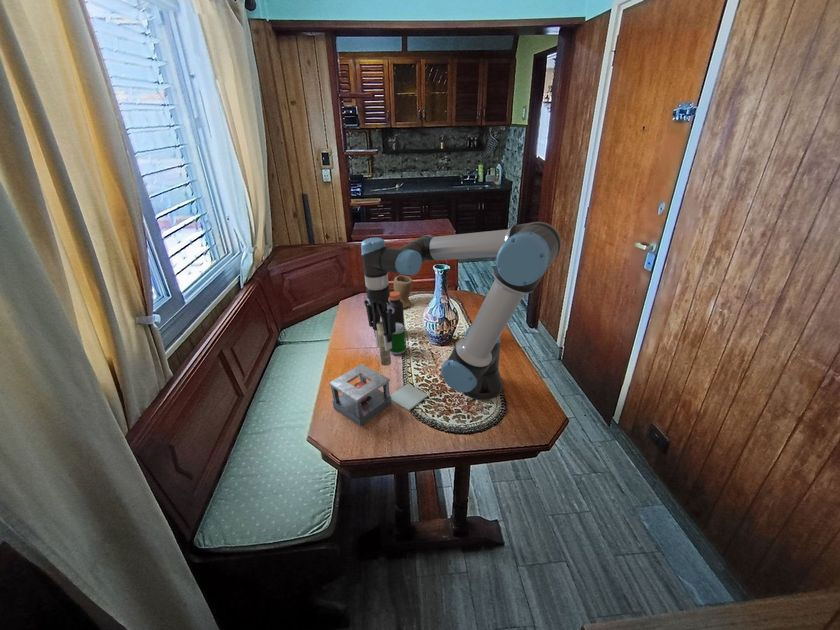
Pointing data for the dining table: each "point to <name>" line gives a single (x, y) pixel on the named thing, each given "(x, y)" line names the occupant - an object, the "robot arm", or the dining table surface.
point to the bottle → (397, 306)
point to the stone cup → (403, 289)
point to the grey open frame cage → (361, 394)
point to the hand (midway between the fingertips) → (384, 347)
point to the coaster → (408, 397)
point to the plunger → (359, 387)
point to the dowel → (383, 346)
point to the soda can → (398, 340)
